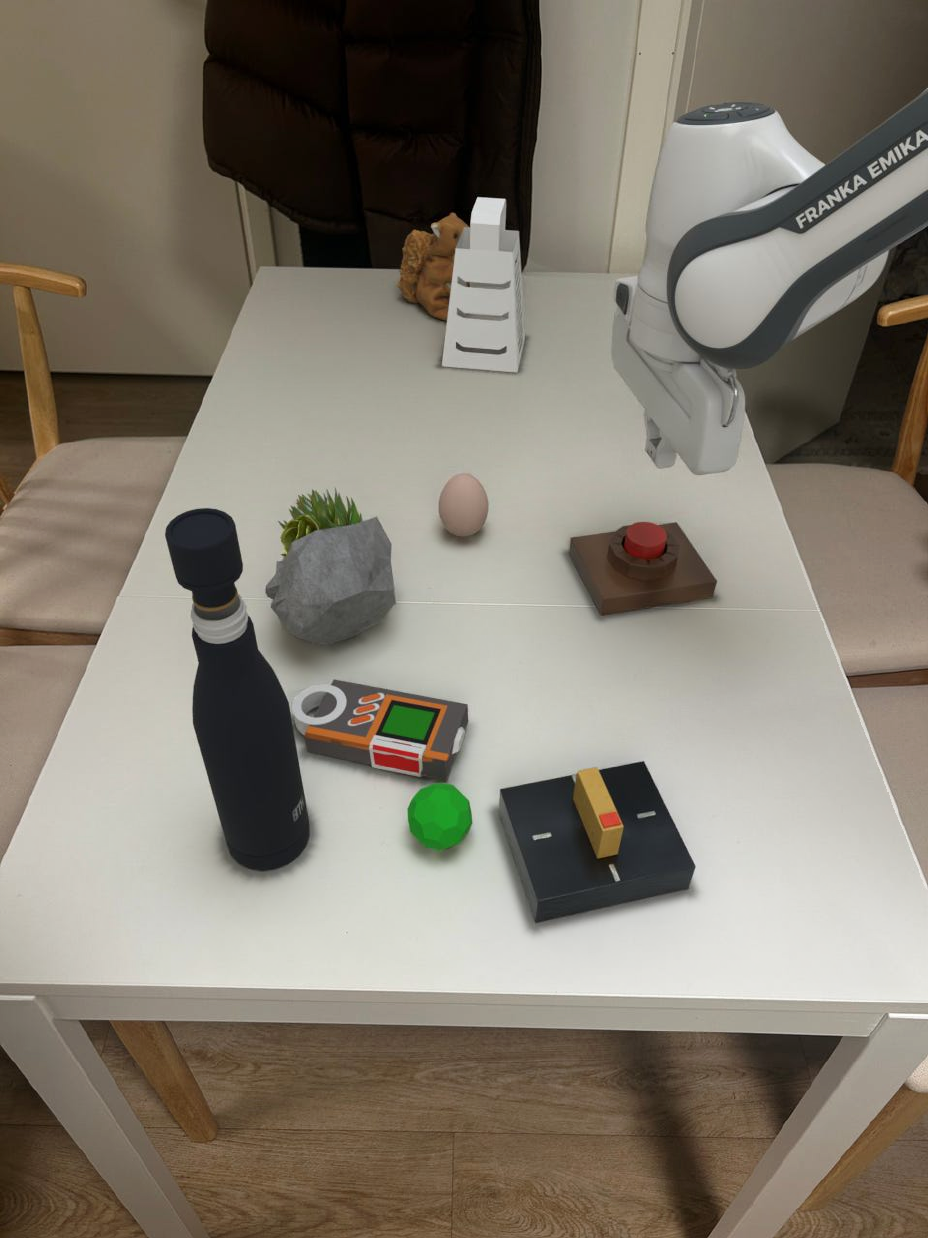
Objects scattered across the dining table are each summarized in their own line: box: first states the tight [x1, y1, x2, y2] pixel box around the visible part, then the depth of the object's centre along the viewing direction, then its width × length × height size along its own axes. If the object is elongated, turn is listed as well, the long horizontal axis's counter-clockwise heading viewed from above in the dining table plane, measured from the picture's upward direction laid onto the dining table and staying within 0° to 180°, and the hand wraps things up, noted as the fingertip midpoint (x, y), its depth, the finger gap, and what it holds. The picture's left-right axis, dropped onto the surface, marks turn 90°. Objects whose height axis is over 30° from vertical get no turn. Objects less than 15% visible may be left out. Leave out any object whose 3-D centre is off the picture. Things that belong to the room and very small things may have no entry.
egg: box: [437, 472, 489, 538], centre depth 99 cm, size 5×5×7 cm
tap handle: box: [573, 766, 624, 859], centre depth 69 cm, size 6×2×4 cm, turn 14°
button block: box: [568, 521, 718, 616], centre depth 95 cm, size 12×10×4 cm
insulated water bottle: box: [164, 507, 311, 872], centre depth 62 cm, size 6×6×30 cm
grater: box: [441, 196, 526, 373], centre depth 125 cm, size 10×10×20 cm
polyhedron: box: [407, 782, 473, 851], centre depth 71 cm, size 5×5×5 cm
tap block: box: [498, 760, 697, 924], centre depth 71 cm, size 12×10×3 cm
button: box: [624, 521, 667, 559], centre depth 93 cm, size 4×4×2 cm
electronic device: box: [291, 679, 469, 781], centre depth 79 cm, size 7×3×15 cm
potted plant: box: [264, 487, 397, 646], centre depth 88 cm, size 12×13×15 cm
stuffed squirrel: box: [396, 212, 471, 322], centre depth 139 cm, size 10×14×13 cm
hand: (658, 459), depth 87 cm, fingers closed
